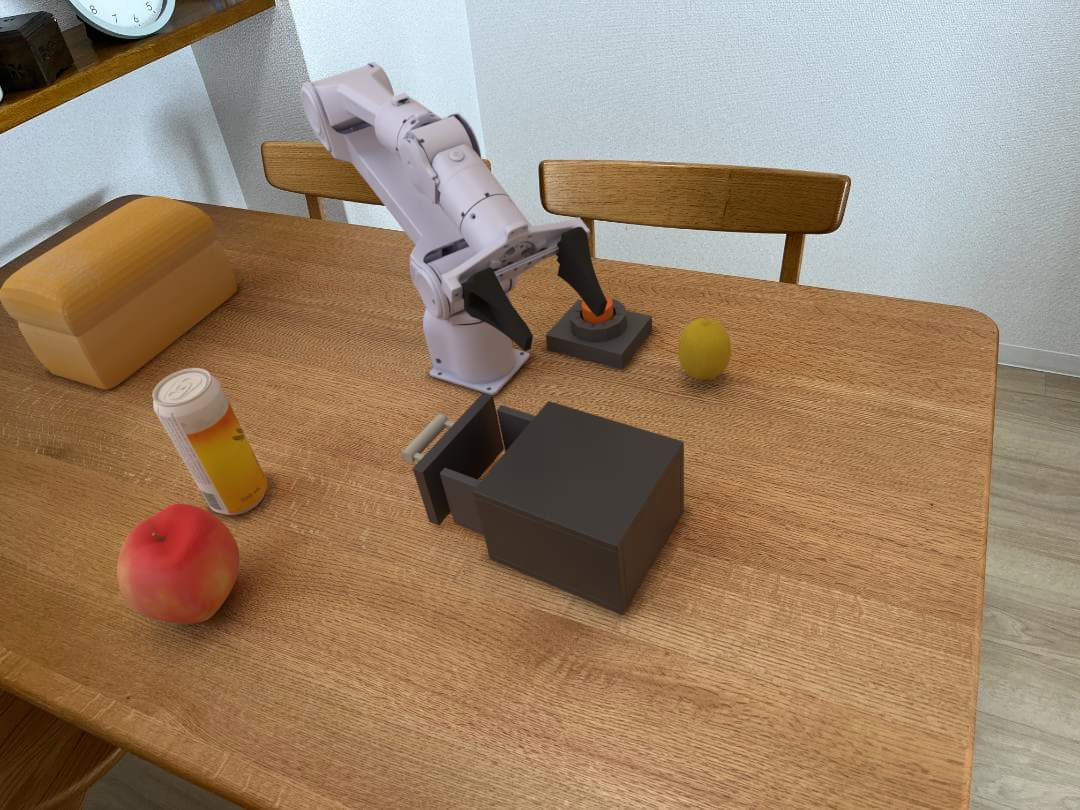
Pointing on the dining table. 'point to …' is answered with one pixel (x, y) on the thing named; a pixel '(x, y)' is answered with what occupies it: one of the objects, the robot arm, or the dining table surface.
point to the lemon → (704, 349)
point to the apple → (178, 565)
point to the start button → (592, 318)
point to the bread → (120, 290)
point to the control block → (600, 335)
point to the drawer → (462, 458)
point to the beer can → (210, 440)
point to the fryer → (583, 503)
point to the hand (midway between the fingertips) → (566, 326)
